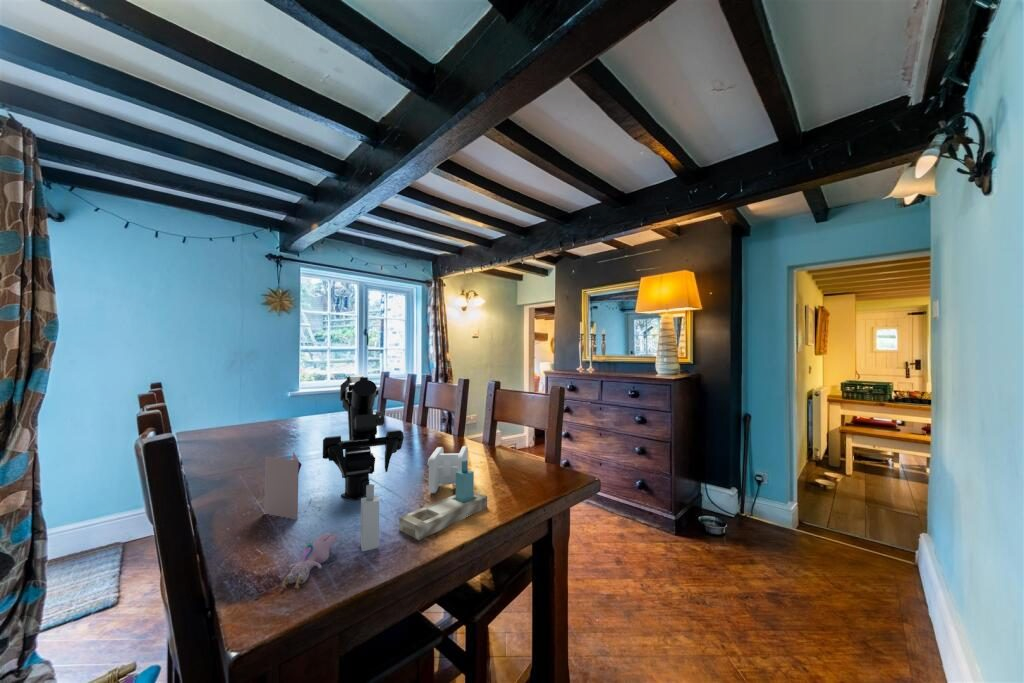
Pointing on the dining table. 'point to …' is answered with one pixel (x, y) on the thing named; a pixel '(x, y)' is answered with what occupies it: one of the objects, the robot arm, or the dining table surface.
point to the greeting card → (281, 486)
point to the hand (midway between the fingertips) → (366, 474)
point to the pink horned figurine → (311, 559)
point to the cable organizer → (445, 467)
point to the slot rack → (439, 515)
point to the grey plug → (369, 520)
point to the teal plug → (464, 484)
